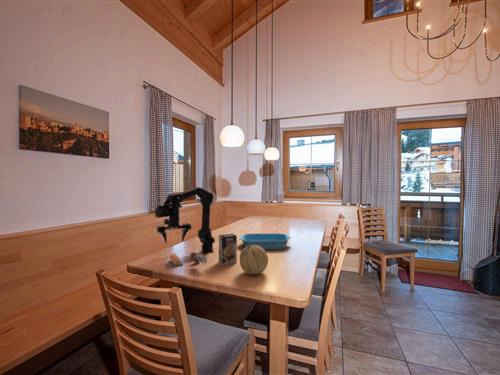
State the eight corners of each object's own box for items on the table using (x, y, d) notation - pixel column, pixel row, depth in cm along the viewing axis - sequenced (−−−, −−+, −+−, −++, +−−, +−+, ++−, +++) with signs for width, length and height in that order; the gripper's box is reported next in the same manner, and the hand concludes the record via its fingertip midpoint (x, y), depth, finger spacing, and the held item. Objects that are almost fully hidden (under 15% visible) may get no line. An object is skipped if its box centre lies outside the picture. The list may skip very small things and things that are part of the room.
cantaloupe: (274, 273, 120) (274, 244, 120) (254, 282, 110) (253, 250, 109) (253, 265, 131) (253, 239, 130) (233, 273, 120) (233, 244, 120)
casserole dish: (238, 250, 159) (238, 240, 159) (240, 242, 182) (240, 232, 181) (292, 250, 159) (292, 240, 158) (288, 242, 181) (288, 232, 181)
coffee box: (222, 265, 131) (222, 237, 130) (218, 262, 137) (218, 234, 136) (237, 263, 135) (237, 235, 135) (232, 259, 141) (232, 233, 140)
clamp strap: (200, 257, 132) (200, 252, 132) (206, 262, 123) (206, 258, 123) (196, 257, 131) (196, 253, 131) (202, 263, 122) (202, 259, 122)
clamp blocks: (194, 258, 143) (194, 252, 142) (199, 263, 134) (199, 256, 134) (190, 259, 141) (190, 252, 141) (195, 264, 133) (195, 257, 133)
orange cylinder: (181, 263, 131) (179, 256, 131) (174, 266, 129) (172, 259, 129) (177, 258, 139) (176, 252, 139) (170, 261, 137) (169, 254, 137)
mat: (179, 260, 140) (179, 259, 140) (183, 265, 132) (183, 264, 132) (168, 262, 137) (168, 260, 137) (172, 267, 129) (172, 266, 129)
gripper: (186, 212, 147) (186, 237, 148) (154, 215, 138) (155, 241, 139) (191, 215, 138) (191, 241, 138) (157, 217, 128) (158, 245, 129)
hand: (174, 242), depth 136 cm, fingers open, 9 cm apart
